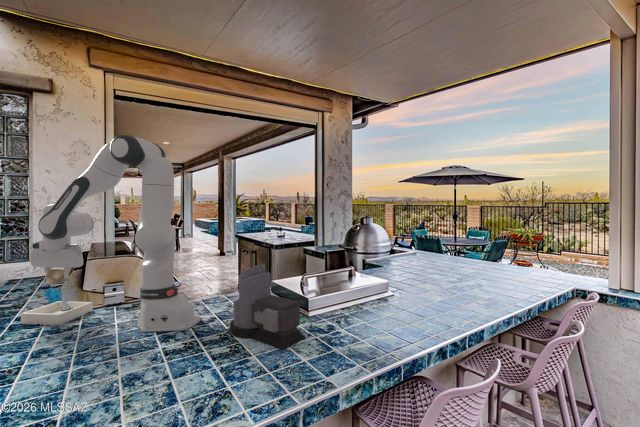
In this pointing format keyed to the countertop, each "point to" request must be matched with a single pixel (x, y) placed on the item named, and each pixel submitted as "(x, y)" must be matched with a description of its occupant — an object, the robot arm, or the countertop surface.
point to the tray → (55, 313)
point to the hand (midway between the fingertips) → (57, 278)
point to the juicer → (264, 312)
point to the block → (55, 276)
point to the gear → (52, 295)
